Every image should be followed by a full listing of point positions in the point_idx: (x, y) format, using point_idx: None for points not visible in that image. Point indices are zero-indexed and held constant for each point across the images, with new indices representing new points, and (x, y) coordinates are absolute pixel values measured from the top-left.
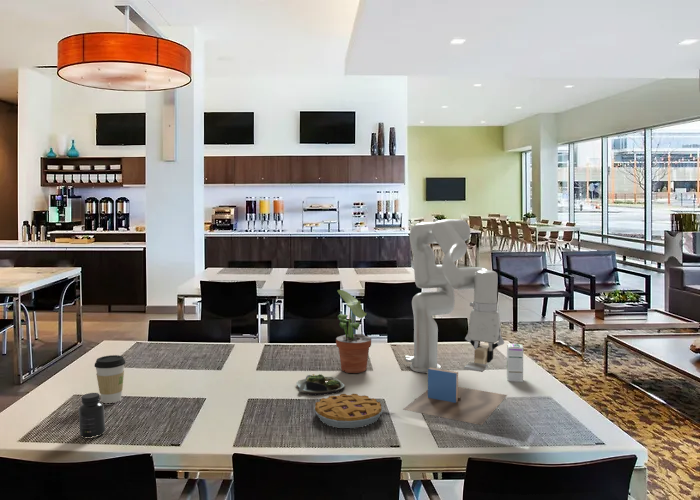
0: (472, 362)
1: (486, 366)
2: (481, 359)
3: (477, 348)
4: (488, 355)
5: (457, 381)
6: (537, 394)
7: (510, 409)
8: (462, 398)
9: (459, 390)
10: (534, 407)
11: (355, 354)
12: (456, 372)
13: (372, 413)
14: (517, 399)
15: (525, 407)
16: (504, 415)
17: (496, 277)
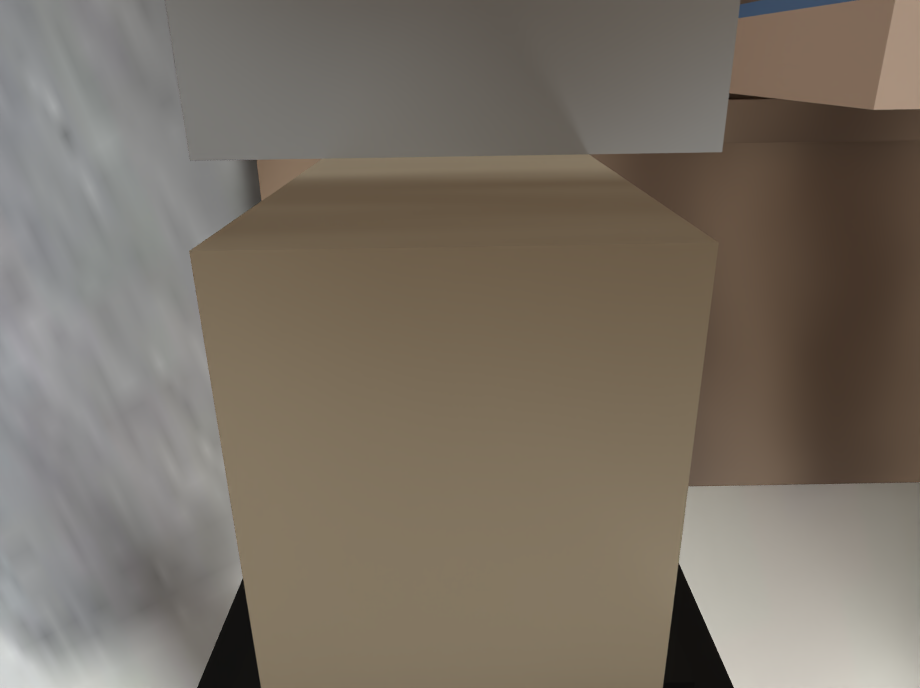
0: (640, 142)
1: (176, 23)
2: (360, 175)
3: (644, 598)
4: None
5: (793, 70)
6: (146, 669)
7: (181, 249)
8: (654, 191)
9: (736, 398)
10: (33, 402)
11: None
12: (904, 52)
13: None
14: (230, 506)
15: (94, 365)
16: (161, 56)
17: None
